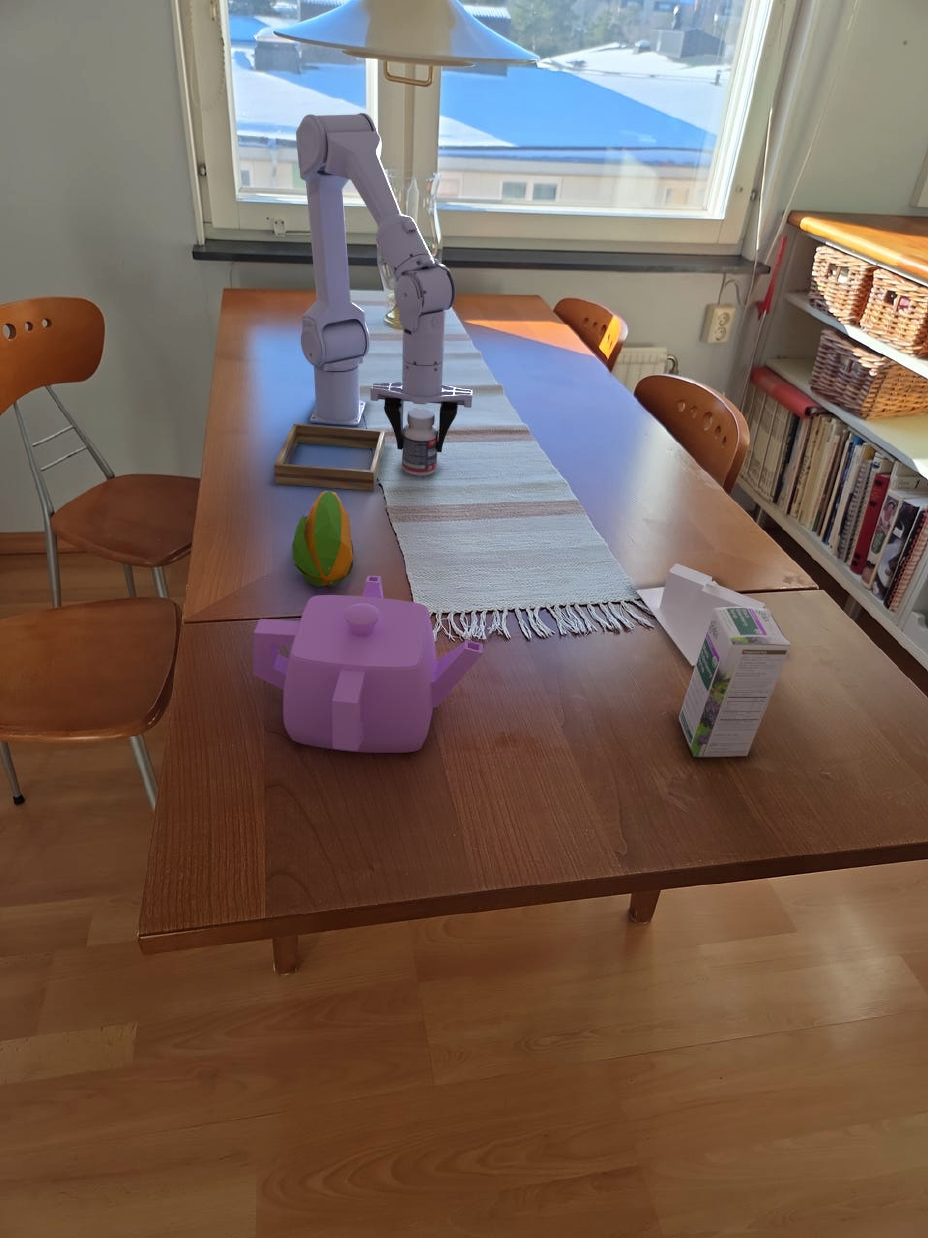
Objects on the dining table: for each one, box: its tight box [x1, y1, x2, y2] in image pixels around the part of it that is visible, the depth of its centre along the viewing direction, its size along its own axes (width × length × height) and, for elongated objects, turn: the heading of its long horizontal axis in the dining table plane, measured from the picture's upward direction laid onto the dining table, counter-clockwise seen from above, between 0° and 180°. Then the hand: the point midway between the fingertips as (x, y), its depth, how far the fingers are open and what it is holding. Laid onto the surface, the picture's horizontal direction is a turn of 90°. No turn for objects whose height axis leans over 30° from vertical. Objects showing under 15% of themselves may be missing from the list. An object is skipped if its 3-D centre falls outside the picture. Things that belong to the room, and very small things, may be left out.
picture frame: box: [273, 423, 386, 492], centre depth 126 cm, size 14×14×3 cm
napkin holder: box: [635, 562, 767, 667], centre depth 99 cm, size 15×11×6 cm
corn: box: [292, 490, 354, 588], centre depth 105 cm, size 7×8×20 cm
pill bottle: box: [401, 407, 439, 477], centre depth 125 cm, size 5×5×9 cm
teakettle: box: [252, 574, 484, 754], centre depth 82 cm, size 17×17×12 cm
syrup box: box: [678, 607, 792, 758], centre depth 81 cm, size 6×6×14 cm
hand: (419, 447), depth 126 cm, fingers closed on pill bottle, 5 cm apart
